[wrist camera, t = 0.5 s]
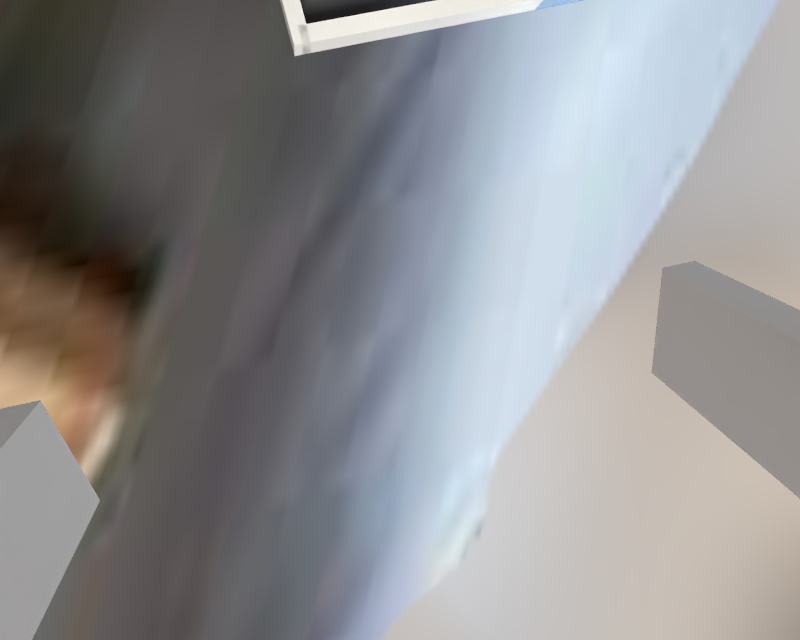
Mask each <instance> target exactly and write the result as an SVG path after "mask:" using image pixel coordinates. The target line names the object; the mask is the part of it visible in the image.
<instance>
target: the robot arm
mask: <svg viewBox="0 0 800 640" xmlns="http://www.w3.org/2000/svg"><path fill="white" fill-rule="evenodd" d="M652 373H653V374H654V375H655V376H656V377H658V378H659V379H660V380H661V381H662V382H664V383H665V384H666V385H667V386H668V387H669V388H671V389H672V390H673V391H674V392H675V393H676V394H678V395H679V396H680V397H681V398H682V399H683V400H685V401H686V402H687V403H688V404H689V405H690V406H692V407H693V408H694V409H695V410H697V411H698V412H699V413H700V414H701V415H702V416H703V417H705V418H706V419H707V420H708V421H709V422H710V423H712V424H713V425H714V426H715V427H716V428H718V429H719V430H720V431H721V432H722V433H723V434H725V435H726V436H727V437H728V438H729V439H731V440H732V441H733V442H734V443H735V444H736V445H738V446H739V447H740V448H741V449H742V450H743V451H745V452H746V453H747V454H748V455H749V456H751V457H752V458H753V459H754V460H755V461H757V462H758V463H759V464H760V465H761V466H762V467H763V468H765V469H766V470H767V471H768V472H769V473H771V474H772V475H773V476H774V477H775V478H776V479H778V480H779V481H780V482H781V483H782V484H784V485H785V486H786V487H787V488H788V489H789V490H790V491H792V492H793V493H794V494H795V495H796V496H798V497H799V498H800V310H798V309H796V308H794V307H792V306H790V305H787V304H785V303H783V302H781V301H779V300H777V299H775V298H773V297H770V296H768V295H766V294H764V293H762V292H760V291H758V290H755V289H753V288H751V287H749V286H747V285H745V284H743V283H741V282H738V281H736V280H734V279H732V278H730V277H728V276H726V275H723V274H721V273H719V272H717V271H715V270H713V269H711V268H709V267H706V266H704V265H702V264H700V263H698V262H696V261H693V262H688V263H684V264H679V265H674V266H670V267H665V268H663V269H662V278H661V288H660V298H659V308H658V318H657V327H656V337H655V348H654V356H653V367H652ZM99 501H100V500H99V498H98V496H97V494H96V493H95V491H94V489H93V488H92V486H91V484H90V483H89V481H88V479H87V478H86V476H85V474H84V473H83V471H82V469H81V468H80V466H79V464H78V463H77V461H76V459H75V457H74V456H73V454H72V452H71V451H70V449H69V447H68V446H67V444H66V442H65V441H64V439H63V437H62V436H61V434H60V432H59V431H58V429H57V427H56V426H55V424H54V422H53V421H52V419H51V417H50V415H49V414H48V412H47V410H46V409H45V407H44V405H43V404H42V402H41V400H40V401H35V402H31V403H26V404H21V405H17V406H12V407H7V408H3V409H0V640H32V638H33V636H34V634H35V632H36V630H37V628H38V626H39V624H40V622H41V620H42V618H43V616H44V614H45V612H46V610H47V608H48V606H49V604H50V602H51V600H52V598H53V596H54V593H55V591H56V589H57V587H58V585H59V583H60V581H61V579H62V577H63V575H64V573H65V571H66V569H67V567H68V565H69V563H70V561H71V559H72V557H73V555H74V553H75V551H76V548H77V546H78V544H79V542H80V540H81V538H82V536H83V534H84V532H85V530H86V528H87V526H88V524H89V522H90V520H91V518H92V516H93V514H94V512H95V510H96V508H97V505H98V503H99Z"/></svg>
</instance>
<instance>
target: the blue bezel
mask: <svg viewBox="0 0 800 640" xmlns="http://www.w3.org/2000/svg"><path fill="white" fill-rule="evenodd" d="M577 1H583V0H543V1H542V2H541V3H540V4H539V6H538V7H537V8H536V9H541V8H546V7H551V6H557V5H562V4H567V3H572V2H577ZM536 9H535V10H536Z"/></svg>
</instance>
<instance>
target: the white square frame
mask: <svg viewBox="0 0 800 640" xmlns="http://www.w3.org/2000/svg"><path fill="white" fill-rule="evenodd" d="M542 1H543V0H435V1H429V2H424V3H418V4H413V5H407V6H402V7H396V8H391V9H386V10H380V11H375V12H369V13H364V14H358V15H353V16H347V17H342V18H337V19H331V20H326V21H320V22H315V23H309V24H306V21H305V17H304V13H303V10H302V6H301V2H300V0H280V3H281V7H282V11H283V15H284V18H285V22H286V26H287V29H288V33H289V37H290V41H291V44H292V48H293V52H294V55H295V56H297V55H303V54H308V53H313V52H318V51H323V50H328V49H334V48H339V47H344V46H349V45H354V44H360V43H365V42H370V41H375V40H380V39H385V38H391V37H396V36H401V35H406V34H411V33H417V32H422V31H427V30H432V29H437V28H443V27H448V26H453V25H458V24H463V23H468V22H474V21H479V20H484V19H489V18H494V17H500V16H505V15H510V14H515V13H520V12H526V11H531V10H535V9H536V8H537V7H538V6H539V4H540V3H541V2H542Z"/></svg>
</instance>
